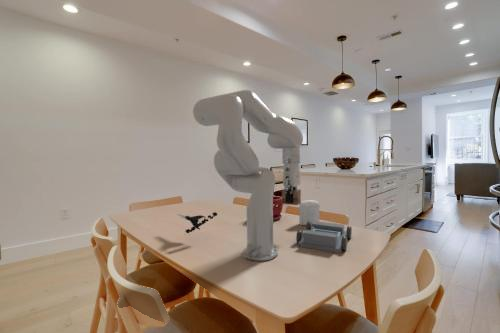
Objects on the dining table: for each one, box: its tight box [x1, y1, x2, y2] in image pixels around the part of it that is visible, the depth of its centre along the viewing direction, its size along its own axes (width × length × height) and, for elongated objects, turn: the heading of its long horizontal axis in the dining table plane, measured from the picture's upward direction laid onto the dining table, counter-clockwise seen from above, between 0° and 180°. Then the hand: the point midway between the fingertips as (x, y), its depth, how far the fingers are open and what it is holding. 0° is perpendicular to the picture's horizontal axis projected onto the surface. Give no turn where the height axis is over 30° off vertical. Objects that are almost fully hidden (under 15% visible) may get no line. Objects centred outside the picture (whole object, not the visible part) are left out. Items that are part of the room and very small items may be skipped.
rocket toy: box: [176, 211, 218, 234], centre depth 109 cm, size 14×6×23 cm
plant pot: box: [273, 195, 284, 221], centre depth 137 cm, size 13×13×12 cm
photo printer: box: [298, 199, 320, 226], centre depth 125 cm, size 10×4×12 cm, turn 98°
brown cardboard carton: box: [281, 188, 302, 206], centre depth 108 cm, size 4×7×6 cm, turn 62°
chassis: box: [295, 220, 353, 254], centre depth 102 cm, size 22×18×6 cm
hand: (291, 201), depth 108 cm, fingers closed on brown cardboard carton, 4 cm apart
